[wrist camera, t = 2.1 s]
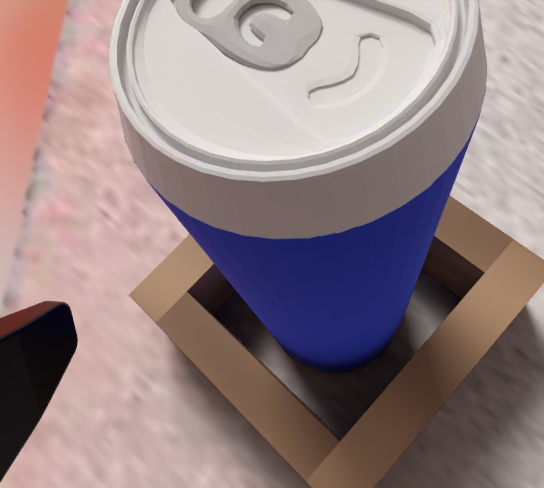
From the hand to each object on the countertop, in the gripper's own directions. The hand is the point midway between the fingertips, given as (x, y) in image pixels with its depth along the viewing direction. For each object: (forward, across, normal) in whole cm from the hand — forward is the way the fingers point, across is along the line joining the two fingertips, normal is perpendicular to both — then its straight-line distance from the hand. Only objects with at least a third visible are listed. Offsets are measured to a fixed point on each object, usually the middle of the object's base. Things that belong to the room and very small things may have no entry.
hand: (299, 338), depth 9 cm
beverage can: (+10, 0, +6) cm, 11 cm away
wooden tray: (+10, 0, +5) cm, 11 cm away
